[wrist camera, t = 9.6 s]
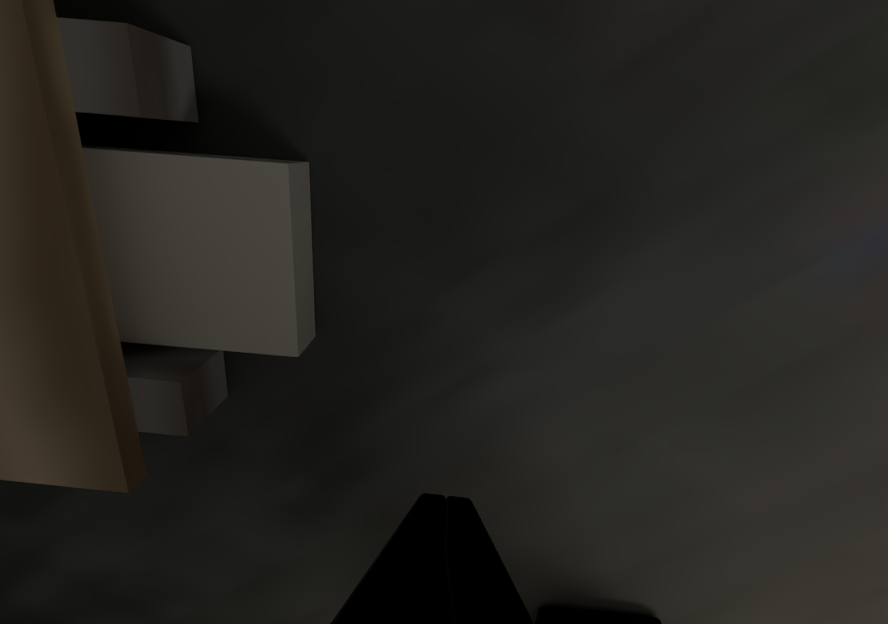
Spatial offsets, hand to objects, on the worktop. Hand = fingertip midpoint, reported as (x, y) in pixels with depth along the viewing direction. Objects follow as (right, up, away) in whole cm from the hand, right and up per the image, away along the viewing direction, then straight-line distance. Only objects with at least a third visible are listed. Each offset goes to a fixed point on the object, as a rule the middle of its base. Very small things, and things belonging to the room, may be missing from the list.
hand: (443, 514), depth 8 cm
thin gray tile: (-13, +6, +10) cm, 18 cm away
